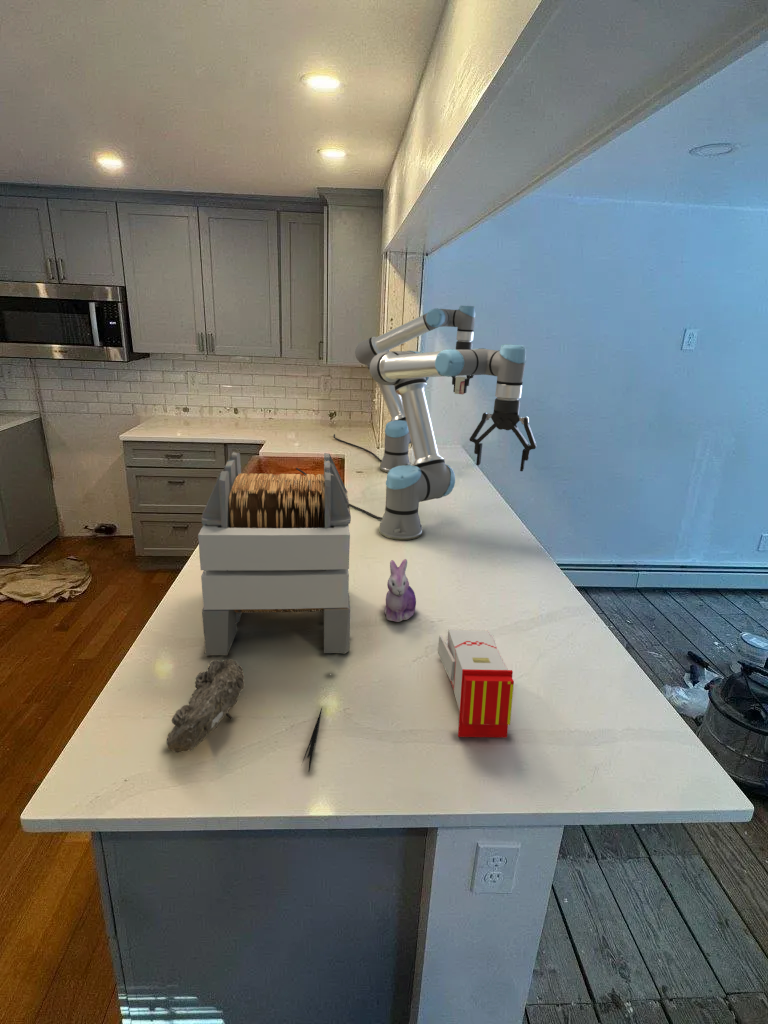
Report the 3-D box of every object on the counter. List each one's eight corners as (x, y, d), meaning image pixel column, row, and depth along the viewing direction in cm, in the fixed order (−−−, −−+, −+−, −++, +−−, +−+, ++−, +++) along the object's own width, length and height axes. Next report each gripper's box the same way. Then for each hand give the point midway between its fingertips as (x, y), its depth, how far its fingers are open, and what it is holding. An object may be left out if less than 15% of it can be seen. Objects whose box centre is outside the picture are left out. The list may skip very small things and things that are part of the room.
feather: (331, 679, 122) (336, 673, 122) (307, 777, 96) (313, 769, 95) (324, 675, 122) (329, 669, 121) (298, 772, 95) (304, 764, 95)
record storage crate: (226, 586, 157) (217, 442, 143) (344, 585, 161) (346, 445, 147) (202, 658, 125) (189, 482, 112) (350, 654, 129) (354, 483, 115)
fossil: (192, 660, 117) (244, 628, 112) (224, 691, 120) (276, 661, 115) (142, 746, 98) (202, 712, 93) (182, 779, 101) (242, 748, 96)
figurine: (392, 627, 141) (395, 572, 136) (374, 608, 149) (376, 556, 144) (425, 619, 145) (429, 566, 140) (405, 601, 154) (408, 550, 149)
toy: (488, 613, 130) (523, 677, 101) (484, 667, 133) (517, 744, 104) (435, 612, 130) (455, 676, 101) (432, 666, 133) (451, 743, 103)
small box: (463, 394, 266) (464, 377, 264) (454, 393, 268) (455, 376, 265) (465, 393, 271) (466, 376, 268) (456, 392, 272) (457, 375, 270)
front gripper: (552, 401, 168) (542, 469, 176) (469, 393, 177) (463, 459, 184) (549, 404, 162) (539, 475, 169) (463, 396, 170) (457, 464, 177)
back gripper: (484, 342, 262) (479, 393, 270) (447, 339, 267) (443, 389, 275) (481, 342, 255) (476, 395, 263) (444, 340, 260) (440, 391, 268)
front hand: (499, 467), depth 176 cm, fingers open, 13 cm apart
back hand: (459, 392), depth 269 cm, fingers closed on small box, 4 cm apart
